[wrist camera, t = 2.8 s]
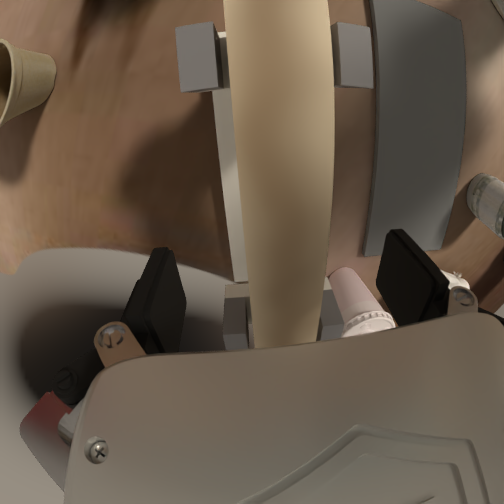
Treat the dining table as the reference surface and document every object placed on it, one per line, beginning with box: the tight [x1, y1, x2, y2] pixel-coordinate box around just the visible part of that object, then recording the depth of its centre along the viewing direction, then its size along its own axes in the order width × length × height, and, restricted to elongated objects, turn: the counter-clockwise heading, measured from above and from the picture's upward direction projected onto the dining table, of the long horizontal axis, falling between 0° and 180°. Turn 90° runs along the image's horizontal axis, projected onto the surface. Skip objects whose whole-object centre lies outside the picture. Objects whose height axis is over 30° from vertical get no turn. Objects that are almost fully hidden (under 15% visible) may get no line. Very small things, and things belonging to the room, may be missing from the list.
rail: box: [223, 0, 335, 348], centre depth 14 cm, size 4×24×4 cm, turn 4°
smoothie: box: [329, 267, 395, 338], centre depth 26 cm, size 6×6×14 cm
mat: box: [362, 0, 466, 257], centre depth 22 cm, size 12×30×1 cm, turn 4°
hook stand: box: [175, 22, 373, 350], centre depth 19 cm, size 8×25×14 cm, turn 4°
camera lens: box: [467, 173, 504, 239], centre depth 22 cm, size 6×6×8 cm
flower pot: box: [0, 39, 56, 127], centre depth 13 cm, size 9×9×9 cm
